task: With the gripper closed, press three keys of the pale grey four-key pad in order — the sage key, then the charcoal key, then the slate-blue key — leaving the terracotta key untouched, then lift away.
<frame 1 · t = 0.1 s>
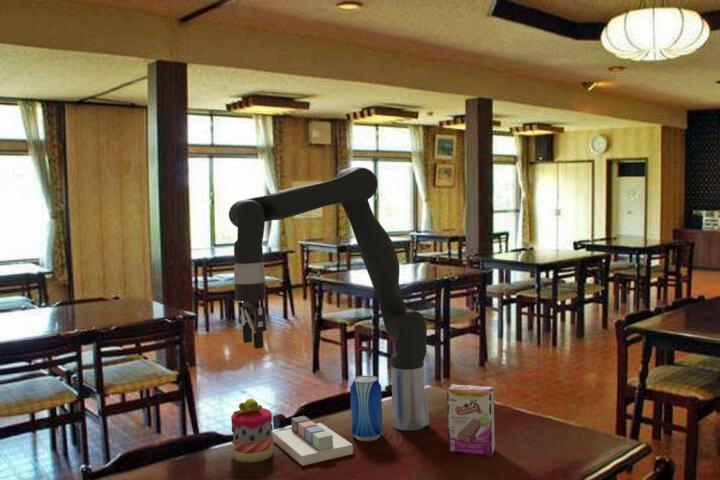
hand: (253, 345, 169), 29 cm above the table, tool pointing down, fingers open, 8 cm apart
candy bar box: (471, 452, 171), on the table
beer can: (367, 437, 184), on the table
keypad frame: (312, 447, 178), on the table
cake: (253, 455, 174), on the table
sage key: (322, 442, 171), point 4 cm above the table, slide at 0.0 cm
slate-blue key: (315, 436, 176), point 4 cm above the table, slide at 0.0 cm
terracotta key: (307, 431, 180), point 4 cm above the table, slide at 0.0 cm
charcoal key: (300, 426, 184), point 4 cm above the table, slide at 0.0 cm
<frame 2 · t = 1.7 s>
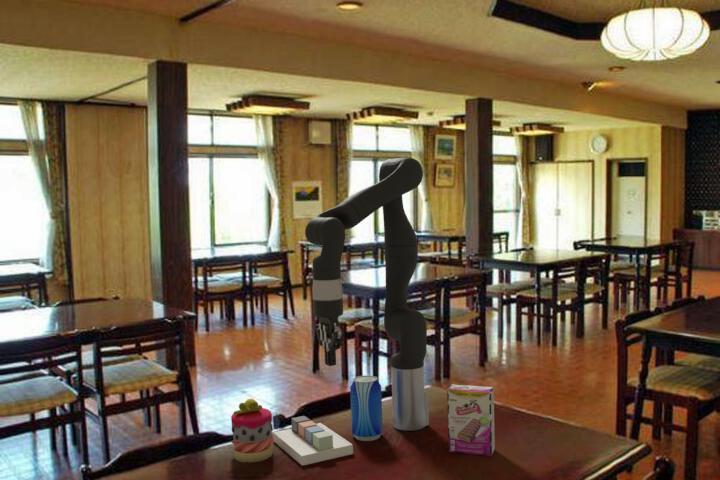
hand: (330, 364, 172), 23 cm above the table, tool pointing down, fingers closed
nothing on the table moved.
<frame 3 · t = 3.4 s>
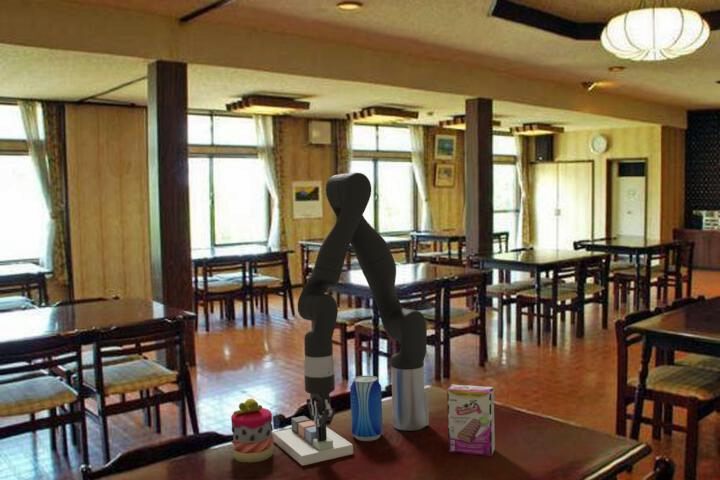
hand: (321, 439, 171), 4 cm above the table, tool pointing down, fingers closed
sage key: (323, 447, 171), point 2 cm above the table, slide at 1.4 cm, touching gripper
everything else where it was.
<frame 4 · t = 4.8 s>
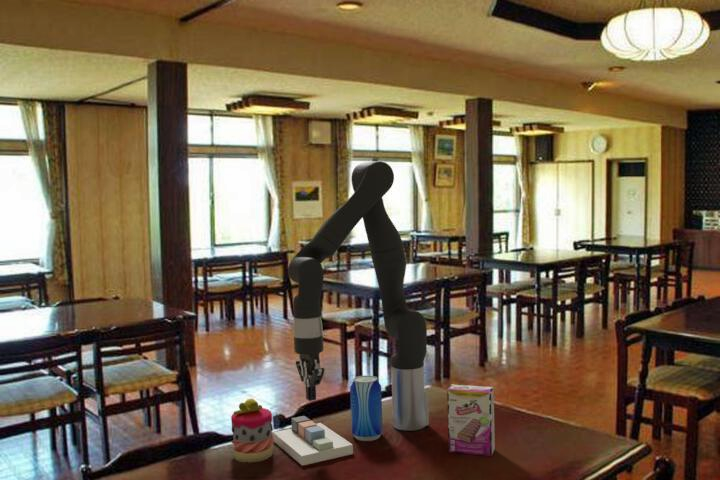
hand: (311, 399, 176), 13 cm above the table, tool pointing down, fingers closed
sage key: (323, 448, 171), point 2 cm above the table, slide at 1.6 cm
everything else where it was.
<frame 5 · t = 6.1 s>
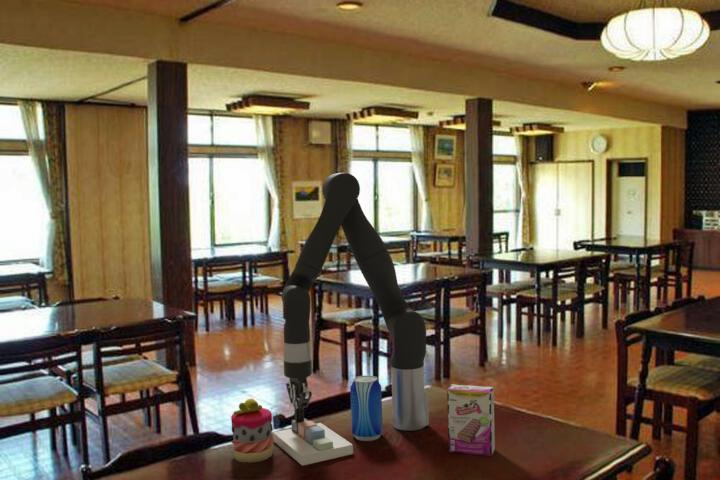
hand: (299, 421, 184), 5 cm above the table, tool pointing down, fingers closed
charcoal key: (300, 428, 184), point 3 cm above the table, slide at 0.6 cm, touching gripper
everything else where it was.
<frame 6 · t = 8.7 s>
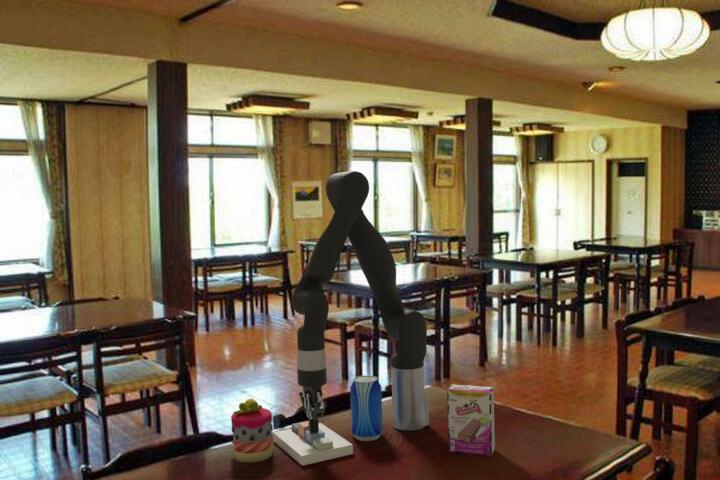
hand: (313, 431, 175), 5 cm above the table, tool pointing down, fingers closed
slate-blue key: (315, 439, 176), point 3 cm above the table, slide at 0.8 cm, touching gripper
charcoal key: (301, 431, 184), point 2 cm above the table, slide at 1.6 cm
everything else where it was.
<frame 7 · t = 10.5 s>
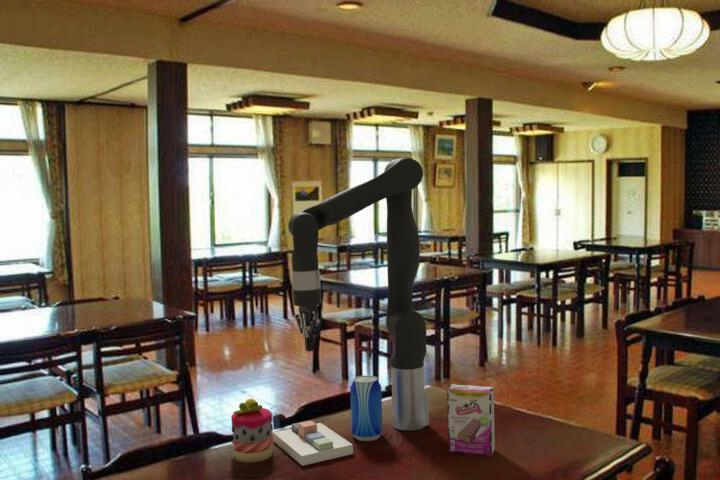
hand: (310, 350, 183), 24 cm above the table, tool pointing down, fingers closed
slate-blue key: (315, 442, 176), point 2 cm above the table, slide at 1.6 cm
everything else where it was.
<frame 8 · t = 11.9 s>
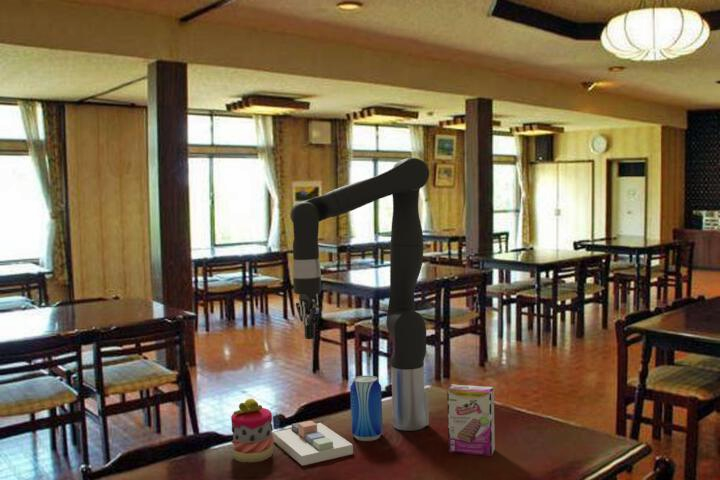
hand: (309, 338, 185), 27 cm above the table, tool pointing down, fingers closed
nothing on the table moved.
at the end: sage key slide at 1.6 cm; charcoal key slide at 1.6 cm; slate-blue key slide at 1.6 cm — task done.
